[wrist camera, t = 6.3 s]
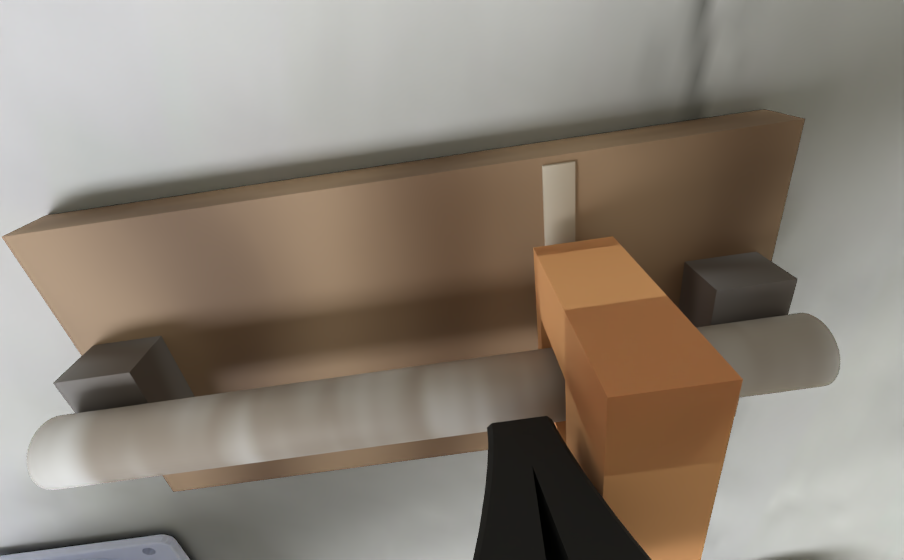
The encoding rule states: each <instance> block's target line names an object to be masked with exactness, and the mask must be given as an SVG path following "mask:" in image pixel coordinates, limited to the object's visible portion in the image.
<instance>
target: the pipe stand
mask: <svg viewBox="0 0 904 560" xmlns="http://www.w3.org/2000/svg"><path fill="white" fill-rule="evenodd" d="M804 121H805V119H804V118H799V117H795V116H791V115H787V114H782V113H778V112H774V111H769V110H765V109H763V110H757V111H750V112H743V113H736V114H730V115H723V116H716V117H709V118H702V119H696V120H689V121H682V122H675V123H669V124H662V125H655V126H648V127H641V128H635V129H628V130H621V131H614V132H608V133H601V134H594V135H587V136H580V137H574V138H567V139H560V140H553V141H547V142H540V143H533V144H526V145H519V146H513V147H506V148H499V149H492V150H486V151H479V152H472V153H465V154H459V155H452V156H445V157H438V158H431V159H425V160H418V161H411V162H404V163H398V164H391V165H384V166H377V167H370V168H364V169H357V170H350V171H343V172H337V173H330V174H323V175H316V176H309V177H303V178H296V179H289V180H282V181H276V182H269V183H262V184H255V185H248V186H242V187H235V188H228V189H221V190H215V191H208V192H201V193H194V194H187V195H181V196H174V197H167V198H160V199H154V200H147V201H140V202H133V203H126V204H120V205H113V206H106V207H99V208H93V209H86V210H79V211H72V212H65V213H59V214H52V215H46V216H43V217H41V218H39V219H37V220H35V221H33V222H31V223H29V224H27V225H25V226H23V227H21V228H19V229H17V230H15V231H13V232H11V233H9V234H6V235H4V236H2V238H3V240H4V241H5V242H6V244H7V245H8V247H9V248H10V250H11V251H12V253H13V254H14V256H15V257H16V259H17V260H18V262H19V263H20V265H21V266H22V268H23V269H24V271H25V272H26V274H27V275H28V277H29V278H30V280H31V281H32V283H33V284H34V286H35V287H36V288H37V290H38V291H39V293H40V294H41V296H42V297H43V299H44V300H45V302H46V303H47V305H48V306H49V308H50V309H51V311H52V312H53V314H54V315H55V317H56V318H57V320H58V321H59V323H60V324H61V326H62V327H63V329H64V330H65V332H66V333H67V334H68V336H69V337H70V339H71V340H72V342H73V343H74V345H75V346H76V348H77V349H78V351H79V352H80V354H81V355H82V356H81V357H80V358H79V359H78V360H77V361H76V362H75V363H74V364H73V365H72V366H71V367H70V368H69V369H68V370H67V371H66V372H64V373H63V374H62V375H61V376H60V377H59V378H58V379H57V380H56V381H55V382H54V385H55V386H56V388H57V389H58V390H59V392H60V393H61V394H62V396H63V397H64V398H65V400H66V401H67V402H68V404H69V405H70V406H71V408H72V409H73V410H74V412H75V413H74V414H67V415H60V416H56V417H54V418H51V419H50V420H48V421H46V422H45V423H44V424H43V425H42V426H41V427H40V428H39V429H38V430H37V431H36V433H35V434H34V436H33V438H32V439H31V442H30V444H29V447H28V451H27V469H28V472H29V475H30V477H31V479H32V480H33V482H34V483H35V484H36V485H38V486H39V487H41V488H43V489H47V490H57V489H65V488H72V487H79V486H87V485H94V484H102V483H109V482H117V481H124V480H131V479H139V478H146V477H154V476H161V475H163V477H164V478H165V480H166V481H167V483H168V484H169V486H170V487H171V489H172V490H173V492H176V491H184V490H191V489H199V488H206V487H213V486H221V485H228V484H236V483H243V482H251V481H258V480H266V479H273V478H281V477H288V476H295V475H303V474H310V473H318V472H325V471H333V470H340V469H348V468H355V467H363V466H370V465H378V464H385V463H392V462H400V461H407V460H415V459H422V458H430V457H437V456H445V455H452V454H460V453H467V452H474V451H482V450H488V434H487V427H488V426H489V425H490V424H491V423H496V422H504V421H511V420H518V419H526V418H533V417H541V416H548V417H549V418H551V419H552V420H553V422H561V421H566V394H565V378H564V376H563V373H562V371H561V368H560V366H559V363H558V361H557V358H556V356H555V353H554V351H553V348H552V347H551V348H544V349H538V331H537V311H536V291H535V272H534V252H533V248H534V247H541V246H548V245H555V244H562V243H569V242H576V241H583V240H590V239H597V238H604V237H611V236H613V237H614V238H615V239H616V240H617V241H618V242H619V243H620V245H621V246H622V247H623V248H624V249H625V250H626V251H627V252H628V253H629V254H630V256H631V257H632V258H633V259H634V260H635V261H636V262H637V263H638V264H639V265H640V267H641V268H642V269H643V270H644V271H645V272H646V273H647V274H648V275H649V276H650V278H651V279H652V280H653V281H654V282H655V283H656V284H657V285H658V286H659V287H660V289H661V290H662V291H663V292H664V293H665V294H666V295H667V296H668V297H669V298H670V300H671V301H672V302H673V303H674V304H675V305H676V306H677V307H678V308H679V309H680V311H681V312H682V313H683V314H684V315H685V316H686V317H687V318H688V319H689V320H690V322H691V323H692V324H693V325H694V326H695V327H696V328H697V329H698V330H699V331H700V333H701V334H702V335H703V336H704V337H705V338H706V339H707V340H708V341H709V342H710V344H711V345H712V346H713V347H714V348H715V349H716V350H717V351H718V352H719V353H720V355H721V356H722V357H723V358H724V359H725V360H726V361H727V362H728V363H729V364H730V365H731V367H732V368H733V369H734V370H735V371H736V372H737V373H738V374H739V375H740V376H741V378H742V379H743V382H742V386H741V390H740V394H739V397H747V396H754V395H762V394H769V393H776V392H784V391H791V390H799V389H806V388H813V387H821V386H826V385H829V384H831V383H832V382H833V381H834V380H835V379H836V377H837V375H838V373H839V369H840V354H839V349H838V346H837V343H836V341H835V339H834V337H833V335H832V333H831V332H830V330H829V329H828V328H827V326H826V325H825V324H824V323H823V322H822V321H820V320H819V319H818V318H816V317H814V316H812V315H810V314H806V313H797V314H790V315H788V312H789V308H790V305H791V301H792V297H793V294H794V290H795V286H796V283H797V278H795V277H794V276H792V275H791V274H789V273H788V272H786V271H785V270H783V269H782V268H780V267H779V266H777V265H776V264H774V263H773V262H771V261H772V257H773V253H774V248H775V244H776V240H777V236H778V231H779V227H780V223H781V219H782V214H783V210H784V206H785V202H786V197H787V193H788V189H789V185H790V181H791V176H792V172H793V168H794V164H795V159H796V155H797V151H798V147H799V142H800V138H801V134H802V130H803V125H804ZM738 401H739V399H738ZM737 405H738V403H737ZM736 409H737V407H736ZM735 414H736V411H735ZM734 417H735V416H734Z"/></svg>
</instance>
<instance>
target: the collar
mask: <svg viewBox="0 0 904 560" xmlns="http://www.w3.org/2000/svg"><path fill="white" fill-rule="evenodd" d="M533 252H534V272H535V291H536V311H537V331H538V349H544V348H551V347H552V348H553V351H554V353H555V356H556V358H557V361H558V363H559V366H560V368H561V371H562V373H563V376H564V378H565V394H566V421H561V422H554V424H555V426H556V428H557V430H558V431H559V433H560V435H561V437H562V438H563V440H564V442H565V443H566V445H567V447H568V448H569V450H570V451H571V453H572V454H573V456H574V457H575V459H576V460H577V462H578V463H579V465H580V466H581V468H582V469H583V471H584V472H585V474H586V475H587V477H588V478H589V480H590V481H591V482H592V484H593V485H594V487H595V488H596V489H597V491H598V492H599V493H600V495H601V496H602V497H603V499H604V500H605V501H606V503H607V504H608V505H609V507H610V508H611V509H612V511H613V512H614V513H615V515H616V516H617V517H618V519H619V520H620V521H621V522H622V524H623V525H624V526H625V528H626V529H627V530H628V531H629V533H630V534H631V535H632V536H633V538H634V539H635V540H636V541H637V542H638V544H639V545H640V546H641V547H642V548H643V550H644V551H645V552H646V553H647V555H648V556H649V557H650V558H651V559H652V560H701V556H702V552H703V548H704V543H705V539H706V535H707V530H708V526H709V522H710V518H711V513H712V509H713V505H714V501H715V496H716V492H717V488H718V484H719V479H720V475H721V471H722V467H723V462H724V458H725V454H726V450H727V445H728V441H729V437H730V433H731V428H732V424H733V420H734V416H735V411H736V407H737V403H738V399H739V394H740V390H741V386H742V382H743V379H742V378H741V376H740V375H739V374H738V373H737V372H736V371H735V370H734V369H733V368H732V367H731V365H730V364H729V363H728V362H727V361H726V360H725V359H724V358H723V357H722V356H721V355H720V353H719V352H718V351H717V350H716V349H715V348H714V347H713V346H712V345H711V344H710V342H709V341H708V340H707V339H706V338H705V337H704V336H703V335H702V334H701V333H700V331H699V330H698V329H697V328H696V327H695V326H694V325H693V324H692V323H691V322H690V320H689V319H688V318H687V317H686V316H685V315H684V314H683V313H682V312H681V311H680V309H679V308H678V307H677V306H676V305H675V304H674V303H673V302H672V301H671V300H670V298H669V297H668V296H667V295H666V294H665V293H664V292H663V291H662V290H661V289H660V287H659V286H658V285H657V284H656V283H655V282H654V281H653V280H652V279H651V278H650V276H649V275H648V274H647V273H646V272H645V271H644V270H643V269H642V268H641V267H640V265H639V264H638V263H637V262H636V261H635V260H634V259H633V258H632V257H631V256H630V254H629V253H628V252H627V251H626V250H625V249H624V248H623V247H622V246H621V245H620V243H619V242H618V241H617V240H616V239H615V238H614V237H613V236H611V237H604V238H597V239H590V240H583V241H576V242H569V243H562V244H555V245H548V246H541V247H534V248H533Z"/></svg>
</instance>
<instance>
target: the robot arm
mask: <svg viewBox="0 0 904 560" xmlns="http://www.w3.org/2000/svg"><path fill="white" fill-rule="evenodd" d="M487 434H488V466H487V477H486V488H485V495H484V501H483V508H482V515H481V522H480V528H479V533H478V538H477V543H476V548H475V553H474V558H473V560H652V559H651V558H650V557H649V556H648V555H647V553H646V552H645V551H644V550H643V548H642V547H641V546H640V545H639V544H638V542H637V541H636V540H635V539H634V538H633V536H632V535H631V534H630V533H629V531H628V530H627V529H626V528H625V526H624V525H623V524H622V522H621V521H620V520H619V519H618V517H617V516H616V515H615V513H614V512H613V511H612V509H611V508H610V507H609V505H608V504H607V503H606V501H605V500H604V499H603V497H602V496H601V495H600V493H599V492H598V491H597V489H596V488H595V487H594V485H593V484H592V482H591V481H590V480H589V478H588V477H587V475H586V474H585V472H584V471H583V469H582V468H581V466H580V465H579V463H578V462H577V460H576V459H575V457H574V456H573V454H572V453H571V451H570V450H569V448H568V447H567V445H566V443H565V442H564V440H563V438H562V437H561V435H560V433H559V431H558V430H557V428H556V426H555V424H554V422H553V420H552V419H551V418H549V417H548V416H541V417H533V418H526V419H518V420H511V421H504V422H496V423H491V424H490V425H489V426H488V427H487ZM0 560H190V559H189V557H188V556H187V555H186V553H185V552H184V551H183V549H182V548H181V546H180V545H179V544H178V542H177V541H176V540H175V539H174V538H173V537H172V536H169V535H165V534H160V535H153V536H145V537H138V538H130V539H123V540H115V541H107V542H100V543H92V544H85V545H77V546H70V547H62V548H55V549H47V550H39V551H32V552H24V553H17V554H9V555H2V556H0Z"/></svg>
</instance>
